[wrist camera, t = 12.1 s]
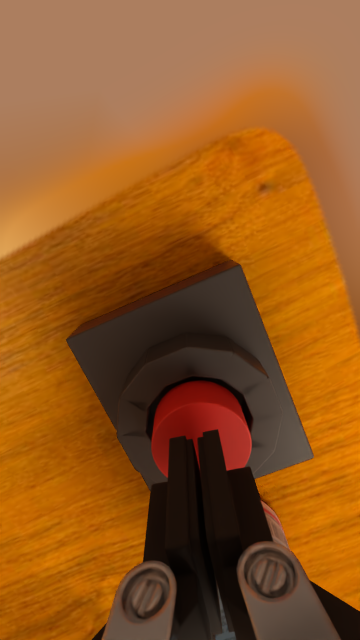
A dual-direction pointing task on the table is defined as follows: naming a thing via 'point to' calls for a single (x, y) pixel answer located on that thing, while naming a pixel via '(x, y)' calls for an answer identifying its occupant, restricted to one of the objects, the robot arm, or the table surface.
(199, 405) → the button
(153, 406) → the button box
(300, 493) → the table surface
